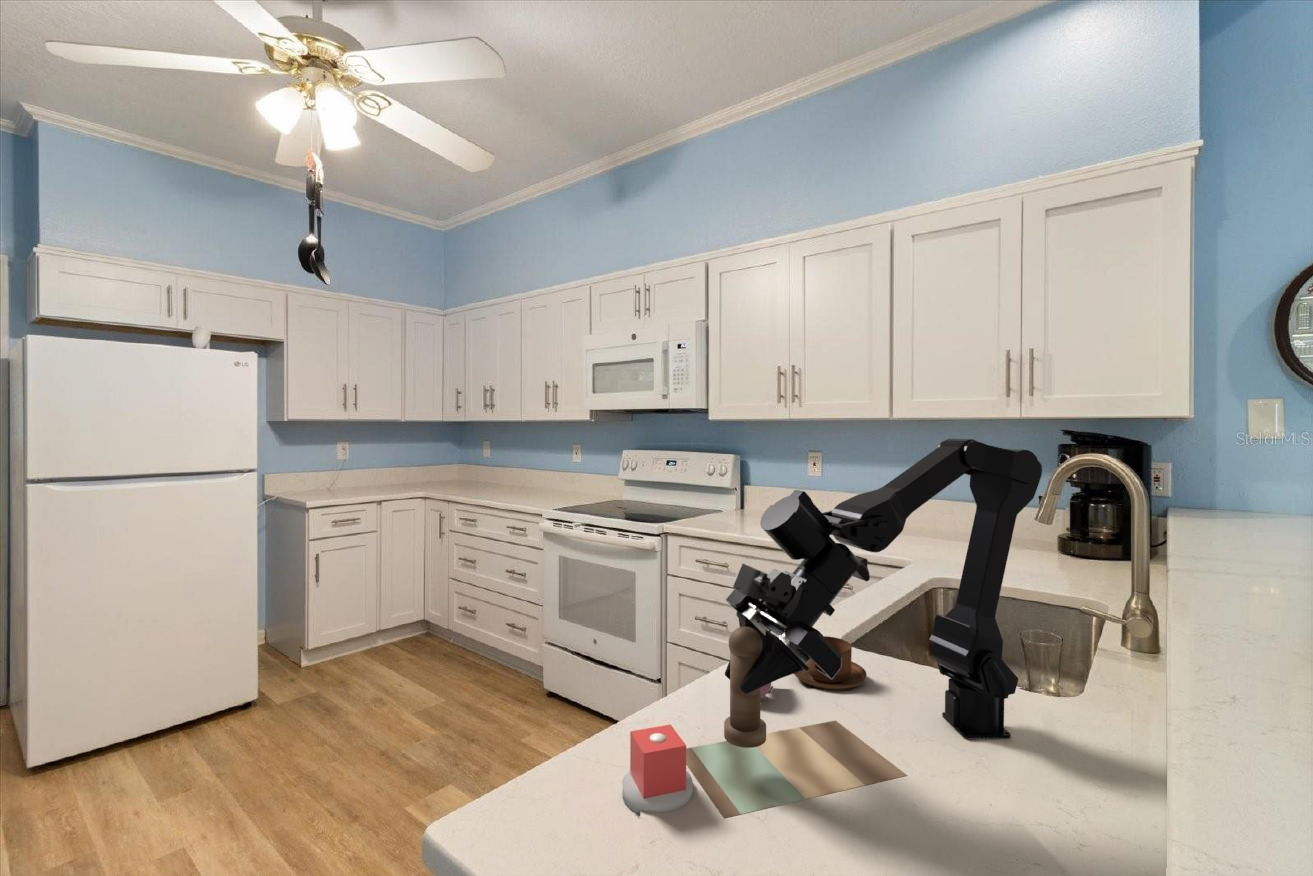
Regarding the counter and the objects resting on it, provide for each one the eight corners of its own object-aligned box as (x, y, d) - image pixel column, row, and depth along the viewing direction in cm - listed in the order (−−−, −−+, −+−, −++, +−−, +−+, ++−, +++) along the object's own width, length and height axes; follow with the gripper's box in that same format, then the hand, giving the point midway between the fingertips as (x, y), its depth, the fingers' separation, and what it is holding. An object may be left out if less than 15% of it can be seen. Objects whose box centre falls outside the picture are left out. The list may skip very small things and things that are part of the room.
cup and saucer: (780, 685, 98) (780, 647, 98) (805, 661, 108) (805, 627, 108) (854, 704, 92) (855, 664, 92) (874, 676, 102) (874, 640, 102)
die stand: (677, 769, 74) (677, 715, 74) (703, 808, 66) (704, 749, 66) (614, 781, 71) (614, 726, 71) (634, 824, 64) (634, 762, 64)
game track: (835, 724, 85) (835, 720, 85) (907, 780, 72) (907, 775, 72) (676, 755, 77) (676, 750, 77) (724, 823, 64) (724, 818, 64)
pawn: (761, 726, 75) (762, 620, 75) (770, 747, 70) (770, 634, 70) (721, 726, 75) (721, 620, 75) (727, 748, 70) (727, 635, 70)
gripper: (739, 528, 82) (663, 617, 79) (819, 557, 64) (725, 674, 61) (789, 581, 85) (718, 669, 81) (879, 622, 67) (793, 737, 64)
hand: (734, 684), depth 72 cm, fingers closed on pawn, 4 cm apart
